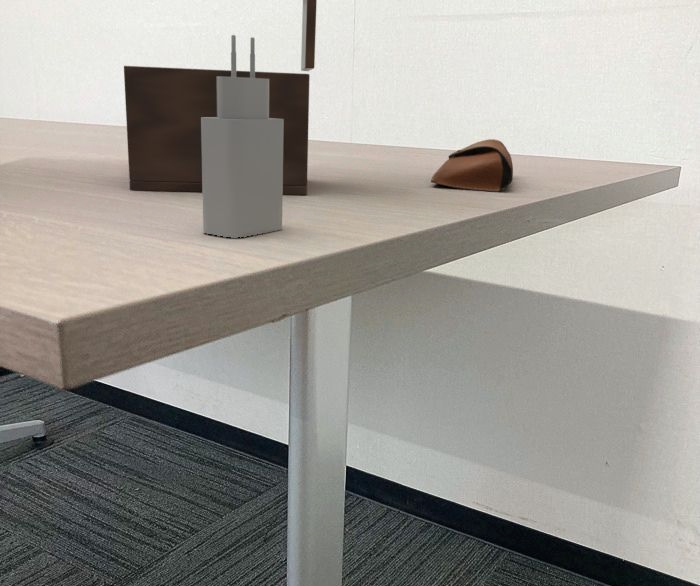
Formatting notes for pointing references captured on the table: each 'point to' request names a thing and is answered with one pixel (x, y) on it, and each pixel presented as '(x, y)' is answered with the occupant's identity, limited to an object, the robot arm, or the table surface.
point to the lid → (308, 35)
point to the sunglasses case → (477, 168)
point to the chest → (185, 125)
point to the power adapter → (242, 157)
